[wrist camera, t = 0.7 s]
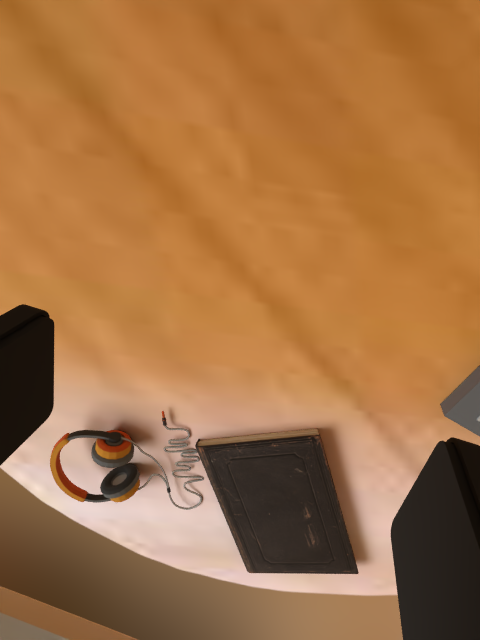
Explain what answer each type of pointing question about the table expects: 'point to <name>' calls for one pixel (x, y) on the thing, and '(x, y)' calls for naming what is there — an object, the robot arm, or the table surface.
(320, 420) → the table surface
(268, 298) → the table surface
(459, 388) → the mixer console
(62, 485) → the headphones
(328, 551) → the hardcover book
